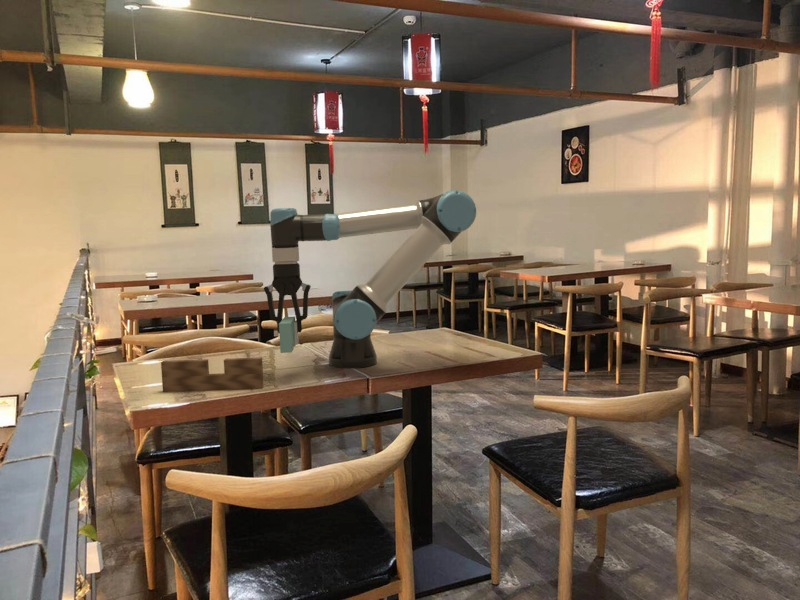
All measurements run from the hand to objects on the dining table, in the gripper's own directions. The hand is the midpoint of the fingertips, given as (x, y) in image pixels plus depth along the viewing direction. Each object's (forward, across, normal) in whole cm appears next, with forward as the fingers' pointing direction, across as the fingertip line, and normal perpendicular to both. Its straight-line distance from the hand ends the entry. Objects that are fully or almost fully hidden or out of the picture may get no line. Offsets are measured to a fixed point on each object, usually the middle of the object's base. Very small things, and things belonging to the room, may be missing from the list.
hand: (290, 343), depth 180 cm
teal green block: (0, 0, +4) cm, 4 cm away
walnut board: (+9, +19, +13) cm, 25 cm away
